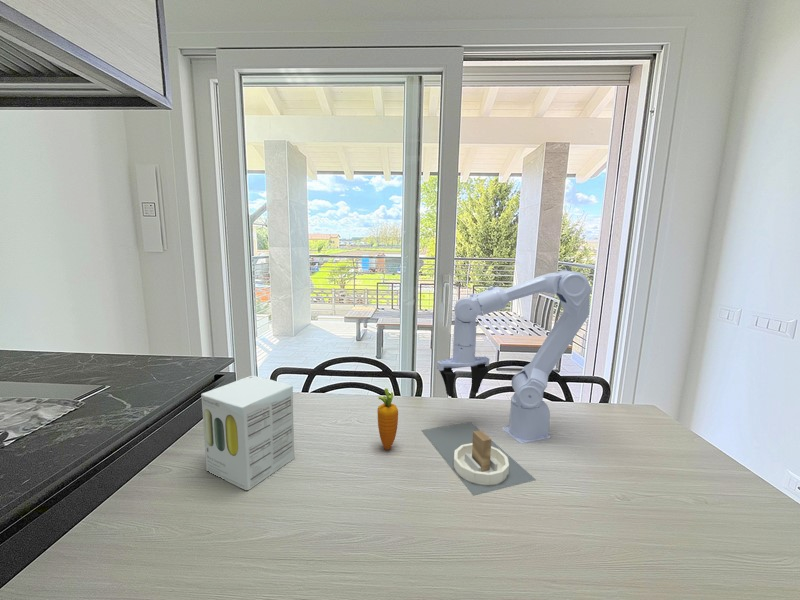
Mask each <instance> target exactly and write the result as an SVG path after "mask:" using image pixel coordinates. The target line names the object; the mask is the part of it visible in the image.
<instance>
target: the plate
mask: <svg viewBox="0 0 800 600" xmlns="http://www.w3.org/2000/svg"><path fill="white" fill-rule="evenodd" d="M472 444H473V443H470V444H464V445H461V446H460V447H458V448H457V449H456V450H455V452H454V469H455V471H456V473H457V474H458V475H459V476H460V477H461V478H463V479H464V480H466V481H468V482H471V483H473V484H477V485H483V486H492V485H497V484H500V483H502V482H503V481H504V480H505V479H506V478H507V475H508V474H509V462H508V457H507V456H506V455H505V454H504V453H503V452H501V451H500V450H499V449H497V448H494V447H492V446H491V457H490V470H488V471H483V472H481V467H480V466H479V465H478V464H477V463H476V461H475V460H474V459H473V458H472ZM456 473H455V474H456Z"/></svg>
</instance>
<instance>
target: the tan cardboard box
mask: <svg viewBox="0 0 800 600" xmlns="http://www.w3.org/2000/svg"><path fill="white" fill-rule="evenodd" d="M491 440H492V438H491V437H489V436H488V435H487V434H486V433H485V432H484V431H483V430H482V429H480V430H479V431H473V444H472V458H473V459H474V460H475V461H476V463H477V464H478V465H479V466H480V467H481V472H483V471H488V470H490V457H491Z"/></svg>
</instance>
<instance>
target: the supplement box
mask: <svg viewBox="0 0 800 600" xmlns="http://www.w3.org/2000/svg"><path fill="white" fill-rule="evenodd" d="M293 391H294V389H293V384H292V385H291V384H288V383H284V382H280V381H278V380H277V381H276V380H274V379H268V378H264V377H260V376H257V375H253V374H252V375H249V376H247V377H243V378H241V379H238V380H235V381H233V382H230V383H227V384H225V385H221V386H219V387H217V388H213V389H211V390H208V391H205V392H202V393H201V394H200V396H201V409H202V411H201V412H202V420H203V421H202V424H203V437H204V438H203V440H204V450H205V452H204V454H205V469H206V472H207V471H209V472H210V473H209V472H208V473H209V474H211V473H212V474H211V475H213V474H214V475H213V476H215V475H216V477H217V476H218V478H219V477H221V478H222V479H221V478H220V479H221V480H223V479H225V480H224V481H225V482H228V483H230V484H232V485H234V486H236V487H237V488H240V489H243V490H245V491H246V490H248V491H250V490H251V489H252V488H255V486H257V485H258V484H260V483H261V482H262V481H264V480H265V479H267V478H268V477H269V476H271V475H272V474H274V473H275V472H277V471H278V470H279V469H281V468H283V467H284V466H286V465H287V464H288V463H290V462H291V461H293V460H295V457H296V456H295V437H294V436H295V434H294V433H295V431H294V427H295V426H294V395H293V394H294V392H293Z"/></svg>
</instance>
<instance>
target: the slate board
mask: <svg viewBox="0 0 800 600" xmlns="http://www.w3.org/2000/svg"><path fill="white" fill-rule="evenodd" d="M479 430H481V429H480V428H478V427H477V425H475V424H474V423H473V422H472V421H469V422H463V423H456V424H452V425H450V424H449V425H444V426H439V427H438V426H437V427H432V428H426V429H421V430H420V431H421V432H422V434H423V435H424V436H425V437H426V439H427V440H428V441H429V442H430V444H432V446H433V447H434V449H435V450H436V451H437V452H438V454H439V455H440V456H441V457H442V459H443V460H444V461H445V463H447V464H448V466H449V467H450V469H451V470H452V471H453V472H454V474H455V475H456V476H457V477H458V479H459V480H460V481H461V483H463V485H464V486H465V487H466V489H467V490H468V491H469V492H470V494H471V495H472V497H473V496H477V495H482V494H485V493H489V492H493V491H498V490H501V489H505V488H511V487H515V486H517V485H522V484H526V483H529V482H534V481H537V479H536V478H535V477H534V476H533V475H532V474H531V473H530V472H528V471H527V470H526V469H525V468H523V466H521V464H519V463H518V462H517V461H516V460H515V459H514V458H513V457H511V455H509V454H508V453H507V452H506V451H505V450H503V448H502V447H500V446H499V445H497V443H495V442H494V441H493V440H492V439H491V446H492V447H494V448H497V449H499V450H500V451H501V452H503V453H504V454H505V455H506V456H507V457H508V462H509V474H508V475H507V478H506V479H505V480H504V481H503V482H502V483H500V484H497V485H492V486H483V485H477V484H473V483H471V482H468V481H466V480H464V479H463V478H461V477H460V476H459V475H458V474H457V473H456V471H455V469H454V452H455V450H456V449H457V448H458V447H460V446H461V445H464V444H470V443H473V431H479Z"/></svg>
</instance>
